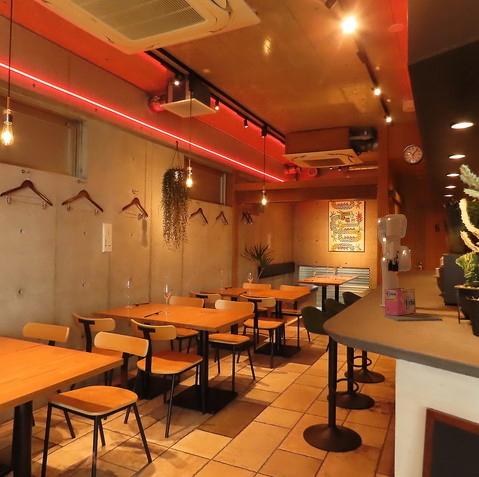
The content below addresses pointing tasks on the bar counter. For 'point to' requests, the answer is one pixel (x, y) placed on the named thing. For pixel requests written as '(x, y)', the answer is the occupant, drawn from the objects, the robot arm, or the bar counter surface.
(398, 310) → the gum box
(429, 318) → the mat
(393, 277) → the robot arm
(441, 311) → the bar counter surface
